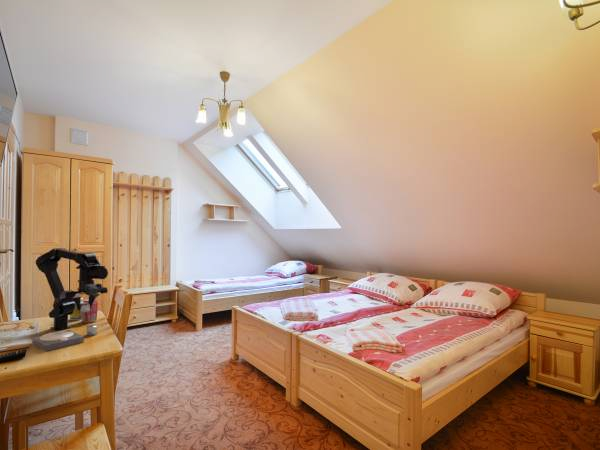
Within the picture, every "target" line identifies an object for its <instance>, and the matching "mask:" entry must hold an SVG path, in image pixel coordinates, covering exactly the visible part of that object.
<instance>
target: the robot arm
mask: <svg viewBox="0 0 600 450" xmlns="http://www.w3.org/2000/svg"><path fill="white" fill-rule="evenodd" d="M62 259H67V260H70V261H74V262H75V264H78V265H77V266H76V267H75V269H77V270H78V271H79V273H78V274H79V275H78V278H79V279H78V280H77V283H78V288H77V291H75V290H72V289H69V290H65V289H64V285H63V283H62V281H61V278H60V275H59V273H58V271H57V269H58V267H59V262H60V261H61V260H62ZM35 265H36V267H37V268H38V270H39V271H40V272H42V273H43V274H44V275H45V277H46V280H47V283H48V286H49V288H50V291H51V293H52V296H53V299H54V300H53V303H52V308H53V309H52V310H51V311H50V312H49V313H48V316H49V318H51V319H53V326H51V327H50V329H51V330H53V331H54V332H57V331H61V330H65V329H66V330H67V329H69V328H71V326H70V325H68V324H69V323H68V322H69V321H68V320H69V316H70V315H71V314H73V311H74V308H75V304H76V306H77V309H78V310H80V299H81V298H82V296H80V295H86V296H88V299H89V303H90V308H91V306H92V304H93V302H94V300H95V299H97V298H98V296H101V294H107V293H109V292H108V291H109V290H108V287H106V286H103V284H102V283H96V284H95V280H105V279H106V278H107V277H108V275H109V271H108V269H107V267H106V266H105V264H104V265H101V263H100V261H99V259H98V258H97V256H96V254H95V253H94V252H78V251H74V250H69V249H64V248H60V247H58V248H57V247H56V248H52V249H50V250H49V251H47V252H45V253H43V254H42V255H40V256H38V257H37V258H36V259H35ZM94 279H95V280H94Z"/></svg>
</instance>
